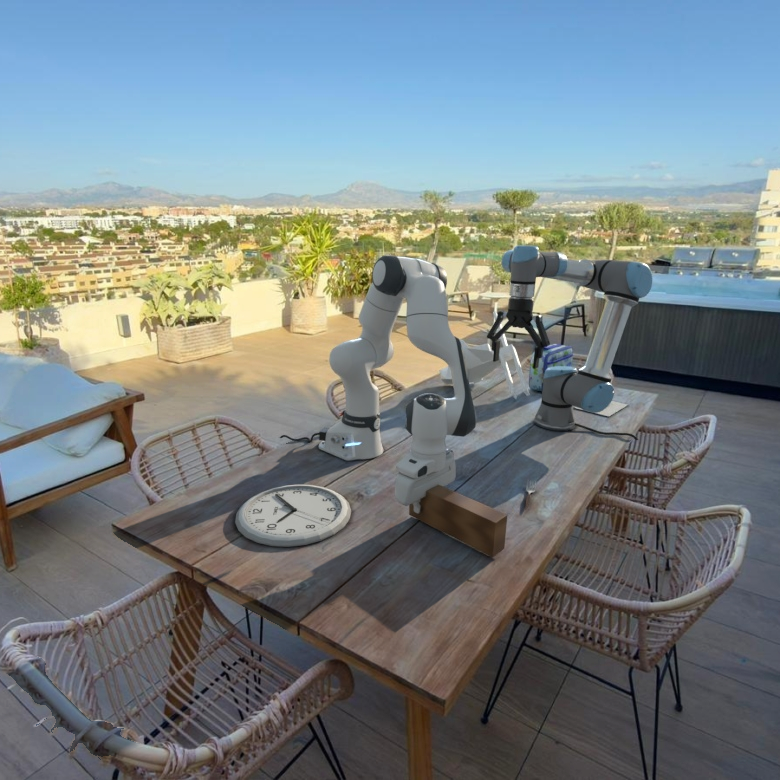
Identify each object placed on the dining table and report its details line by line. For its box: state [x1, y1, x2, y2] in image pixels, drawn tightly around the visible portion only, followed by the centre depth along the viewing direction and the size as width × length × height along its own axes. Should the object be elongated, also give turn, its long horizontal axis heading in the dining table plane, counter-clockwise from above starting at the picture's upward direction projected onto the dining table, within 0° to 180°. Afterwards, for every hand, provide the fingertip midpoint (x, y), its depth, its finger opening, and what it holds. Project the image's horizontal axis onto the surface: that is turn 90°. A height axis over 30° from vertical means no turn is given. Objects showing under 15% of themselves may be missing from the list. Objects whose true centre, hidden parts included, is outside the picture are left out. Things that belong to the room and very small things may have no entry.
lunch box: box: [528, 343, 574, 392], centre depth 248 cm, size 26×11×21 cm, turn 134°
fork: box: [525, 478, 537, 511], centre depth 148 cm, size 3×16×2 cm, turn 160°
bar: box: [408, 485, 508, 558], centre depth 128 cm, size 26×5×9 cm, turn 46°
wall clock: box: [234, 484, 352, 548], centre depth 138 cm, size 30×2×30 cm
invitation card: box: [573, 400, 629, 418], centre depth 226 cm, size 21×1×15 cm
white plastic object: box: [438, 310, 531, 400], centre depth 245 cm, size 37×45×31 cm
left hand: (425, 507), depth 135 cm, fingers closed on bar, 5 cm apart
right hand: (515, 364), depth 167 cm, fingers open, 13 cm apart
